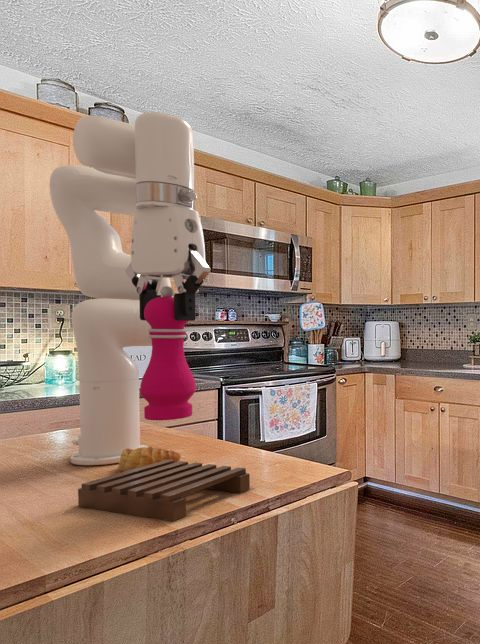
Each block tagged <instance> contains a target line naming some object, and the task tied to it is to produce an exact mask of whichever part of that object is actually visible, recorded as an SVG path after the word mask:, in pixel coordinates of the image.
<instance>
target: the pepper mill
mask: <svg viewBox="0 0 480 644" xmlns="http://www.w3.org/2000/svg"><path fill="white" fill-rule="evenodd" d="M171 287H172V286H171ZM171 287H169V286H165V287H163V288H162V289H161V291H160V292H161V295H162V296H163V297H158V298H154V299H152V300H150V301H149V302H148V303H147V304H146V306H145V309H144V318H145V320H146V321H147V322H148V323H149V324H150V326H151V329H148V331H149V332H150V333H149V336H148V337H149V338H151V340H152V346H151V355H150V358H149V363H148V365H147V367H146V369H145V372H144V373H143V376H142V377H141V382H140V385H139V395H140V396H141V397H142V398H143V400H145V401H146V402H147V403H148V405H145V406H144V408H143V412H144V415H143V416H144V419H145V420H147V421H171V420H181V419H185V418H190V417H192V416H193V403H191V402H189V400H190V399H191V398H192V396H194V394H195V393H196V391H197V390H196V389H197V388H196V380H195V377H194V374H193V372H192V370H191V368H190V366H189V364H188V362H187V359H186V356H185V348H184V343H185V339H186V338H188V335H187V331H188V330H187V328H185V326H186V325H187V324H188V322H189V321H177V320H175V318H174V293H175V290H174V288H173V287H172V288H171ZM172 296H173V297H172Z"/></svg>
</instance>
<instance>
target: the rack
mask: <svg viewBox="0 0 480 644" xmlns="http://www.w3.org/2000/svg"><path fill="white" fill-rule="evenodd" d="M250 478H251V477H250V473H249V472H247V468H245V467H235V468H232V466H229V465H221V466H218V467H217V464H212V463H208V464H205V465H203V463H201V462H192V463H189V461H185V460H180V461H179V462H176V463H174V460H164V461H160V462H157V463H153V464H150V465H146V466H143V467H139V468H136V469H132V470H129V471H121V472H118V473H115V474H111V475H108V476H104V477H101V478H97V479H94V480H90V481H87V482H83V483H81V484H80V485H81V486H80V488H77V502H78V503H77V505H78V507H81V508H88V509H93V510H100V511H105V512H106V511H107V512H112V513H119V514H125V515H132V516H138V517H145V518H151V519H157V520H163V521H170V522H175V521H177V520H180V519H182V518H185V517H186V516H187V498H186V496H188V495H191V494H194V493H196V492H199V491H202V490H204V489H206V490H213V491H215V490H216V491H223V492H229V493H238V494H241V493H244V492H246V491H249V490H250V484H251V483H250V481H251V480H250Z"/></svg>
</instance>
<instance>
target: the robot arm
mask: <svg viewBox="0 0 480 644" xmlns="http://www.w3.org/2000/svg"><path fill="white" fill-rule="evenodd" d="M72 145H73V150H74V153H75V157H76V159H77V161H78V162H79V163H80V165H76V164H75V165H73V164H70V165H69V164H67V165H61V166H58V167H56V168H54V169H53V170H52V172H51V174H50V177H49V194H50V199H51V200H50V201H51V204H52V206H53V210H54V212H55V214H56V216H57V219H58V221H59V222H60V224H61V226H62V227H63V229H64V231H65V233H66V235H67V237H68V241H69V246H70V253H71V254H70V255H71V260H72V261H71V262H72V268H73V273H74V279H75V284H76V286H77V288H78V291H79V292H80V293H81V294H83V295H84V296H86V297H89V298H90V299H86V300H82V301H80V302H79V303H77V304H76V305H75V307H74V308H73V309H72V312H71V326H72V330H73V335H74V339H75V345H76V352H77V360H78V361H77V362H78V381H79V383H78V384H79V385H78V387H79V428H80V431H79V432H80V434H79V435H78V438H77V437H75V438H73V439H72V441H71V444H72V445H73V446H78V452H75V453H73V454H72V455H71V456H70V463H71V464H72V465H76V466H102V465H103V466H104V465H111V464H112V465H113V464H119V461H120V457H121V454H122V451H123V450H124V449H132V450H135V449H137V448H147V447H149V446H148V445H145V444H141V416H140V415H141V411H140V372H139V366H138V365H137V363H136V362H135V360H134V359H133V358H132V357H131V356H130V355H129V354H128V353H127V352H126V351H124V349H123V348H130V347H152V340H151V338H149V337H148V336H149V333H150V332H149V331H148V329H151V326H150V324H149V323H148V322H147V321H146V320H145V318H144V309H145V306H146V304H147V303H148V302H149V301H150V300H152V299H154V298H158V297H163V296H162V295H161V292H160V291H161V289H162V288H163V287H165V286H169V287H171V288H172V289H173V287H172V283H171V278H172V279H173V281H174V284H175V288H176V290H177V292H178V293H177V292H174V295H173V296H172V297H174V318H175V320H177V321H188V322H194V321H196V318H197V317H196V316H197V315H196V314H197V313H196V295H198V294H199V293H200V288H201V286H202V285H203V283H204V282H205V281H204V280H205V279H206V278H207V277H208V275H209V274H210V273H211V267H210V265H208V263H207V261H206V247H205V237H204V230H203V225H202V221H201V217H200V213H199V211H197V210H195V209H196V207H195V204H196V203H195V201H196V200H197V197H198V196H197V193H196V192H195V136H194V131H193V129H192V126H191V125H190V123H188V122H187V121H185V120H184V119H182V118H180V117H178V116H175V115H172V114H169V113H163V112H156V111H147V112H143V113H141V114H139V115H137V117H136V119H135V121H134V124H133V123H128V122H125V121H121V120H117V119H113V118H108V117H104V116H100V115H93V114H92V115H89V114H88V115H83V116H81V117H80V118H79V119H78V120H77V122H76V123H75V126H74V129H73V134H72ZM97 211H98V212H103V213H111V214H118V215H125V216H131V217H133V221H132V230H131V244H130V254H128V253H125V252H124V251H123V247H122V240H121V237H120V234H119V233H118V232H117V231H116V230H115V228H114V227H113V226H112V225H111V224H110V223H109V222H108V221H107V220H106V219H104V217H102V216H101V215H99V214H98V213H97Z"/></svg>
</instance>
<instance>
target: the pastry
mask: <svg viewBox="0 0 480 644" xmlns="http://www.w3.org/2000/svg"><path fill="white" fill-rule="evenodd" d="M181 457H182V456H181V453H179V452H177V451H175V450H168V449H164V448H158V447H154V448H153V447H151V446H148V447H147V448H137V449H135V450H132V449H124V450H123V451H122V454H121V457H120V461H119V463H118V466H117V470H119V471H121V472H125V471H129V470H132V469H136V468H139V467H143V466H146V465H150V464H153V463H157V462H160V461H164V460H174V463H176V462H179V461H181Z"/></svg>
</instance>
